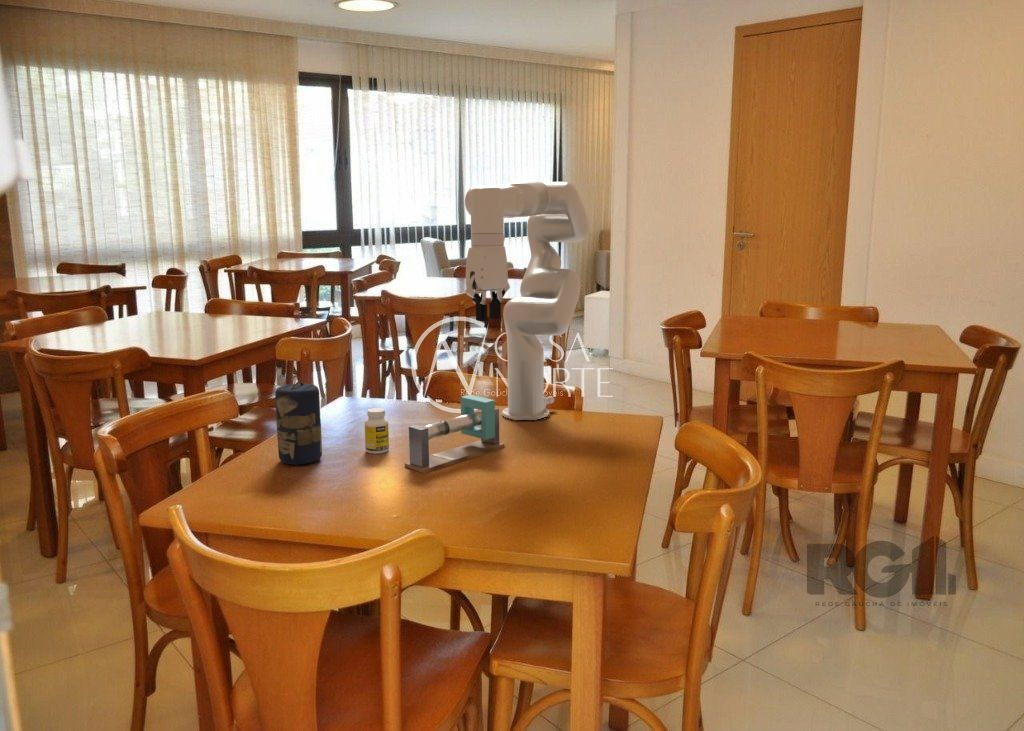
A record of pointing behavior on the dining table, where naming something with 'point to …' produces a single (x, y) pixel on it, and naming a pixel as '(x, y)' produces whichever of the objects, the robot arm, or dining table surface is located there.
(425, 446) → the rail
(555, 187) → the robot arm
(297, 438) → the canister
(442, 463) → the base board
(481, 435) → the teal rectangular frame
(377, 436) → the supplement bottle
